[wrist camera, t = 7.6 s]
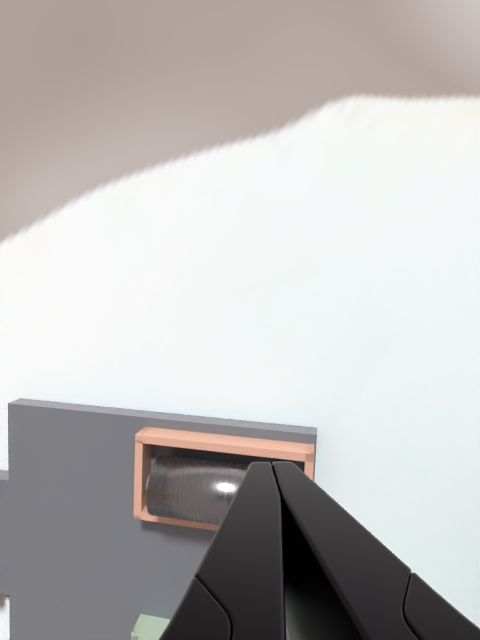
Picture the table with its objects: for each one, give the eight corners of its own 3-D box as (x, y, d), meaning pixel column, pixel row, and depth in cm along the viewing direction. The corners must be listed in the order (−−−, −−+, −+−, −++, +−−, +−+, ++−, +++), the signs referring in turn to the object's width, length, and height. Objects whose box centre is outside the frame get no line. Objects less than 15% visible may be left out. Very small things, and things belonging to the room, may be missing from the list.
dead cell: (294, 459, 20) (291, 491, 18) (291, 510, 21) (288, 549, 18) (159, 443, 21) (137, 472, 19) (160, 492, 22) (138, 527, 19)
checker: (316, 427, 21) (318, 482, 15) (299, 708, 22) (295, 858, 17) (-163, 380, 26) (-301, 407, 20) (-153, 612, 27) (-279, 701, 22)
